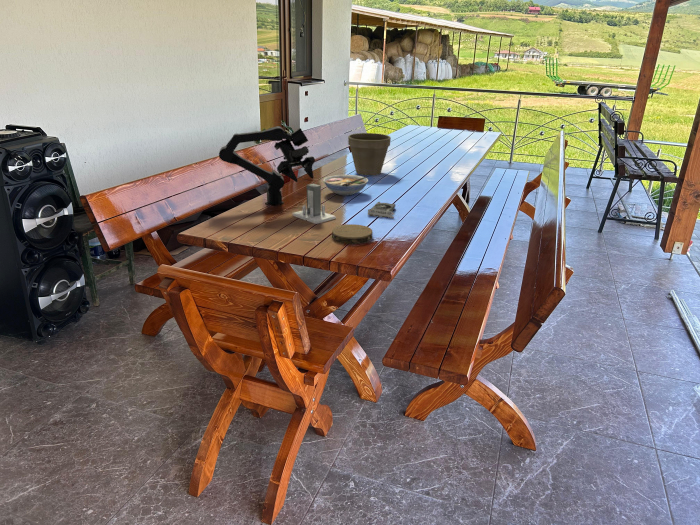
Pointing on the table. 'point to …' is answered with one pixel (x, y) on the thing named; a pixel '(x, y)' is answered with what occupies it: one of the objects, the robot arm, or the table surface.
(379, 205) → the graphics card
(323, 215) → the pin tray
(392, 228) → the table surface
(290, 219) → the table surface
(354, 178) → the ramen bowl
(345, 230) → the brown flat round piece
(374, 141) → the plant pot
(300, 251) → the table surface
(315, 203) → the block
